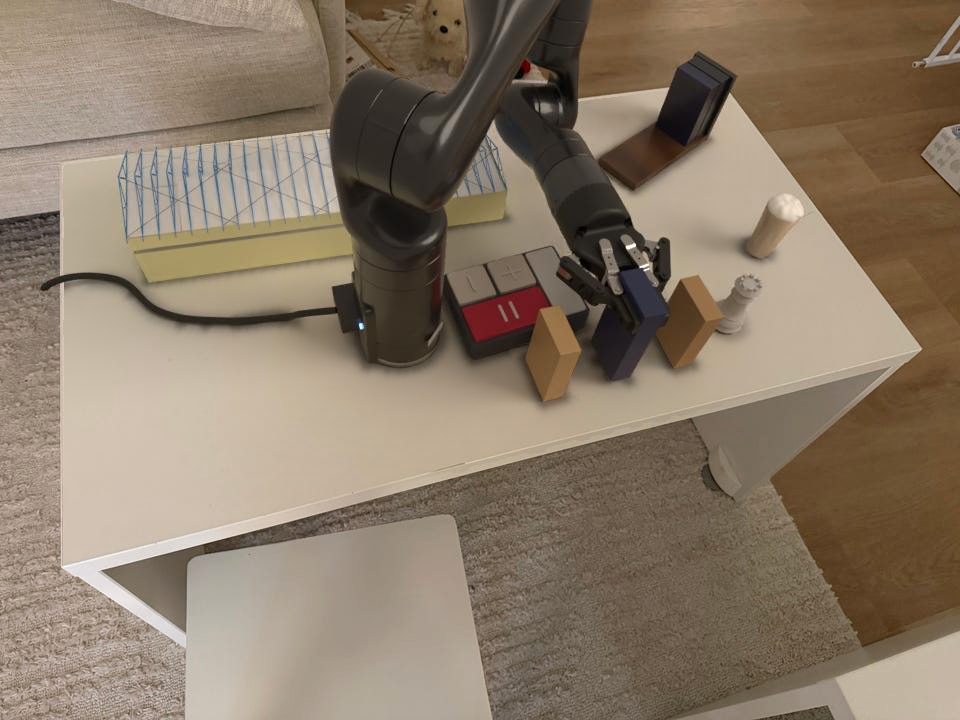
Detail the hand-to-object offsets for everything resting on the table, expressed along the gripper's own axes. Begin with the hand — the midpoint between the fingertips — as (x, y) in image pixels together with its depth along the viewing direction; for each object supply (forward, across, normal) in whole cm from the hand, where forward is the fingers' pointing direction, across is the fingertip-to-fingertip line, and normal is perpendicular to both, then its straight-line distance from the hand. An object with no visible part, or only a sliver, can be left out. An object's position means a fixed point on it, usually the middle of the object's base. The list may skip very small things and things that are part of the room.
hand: (649, 325), depth 68 cm
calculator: (-13, -9, +12) cm, 20 cm away
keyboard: (-33, -27, +12) cm, 45 cm away
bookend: (-36, +22, +12) cm, 44 cm away
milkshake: (-14, +28, +12) cm, 34 cm away
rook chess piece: (-5, +17, +12) cm, 21 cm away
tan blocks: (-3, 0, +12) cm, 12 cm away
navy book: (-3, 0, +11) cm, 11 cm away
